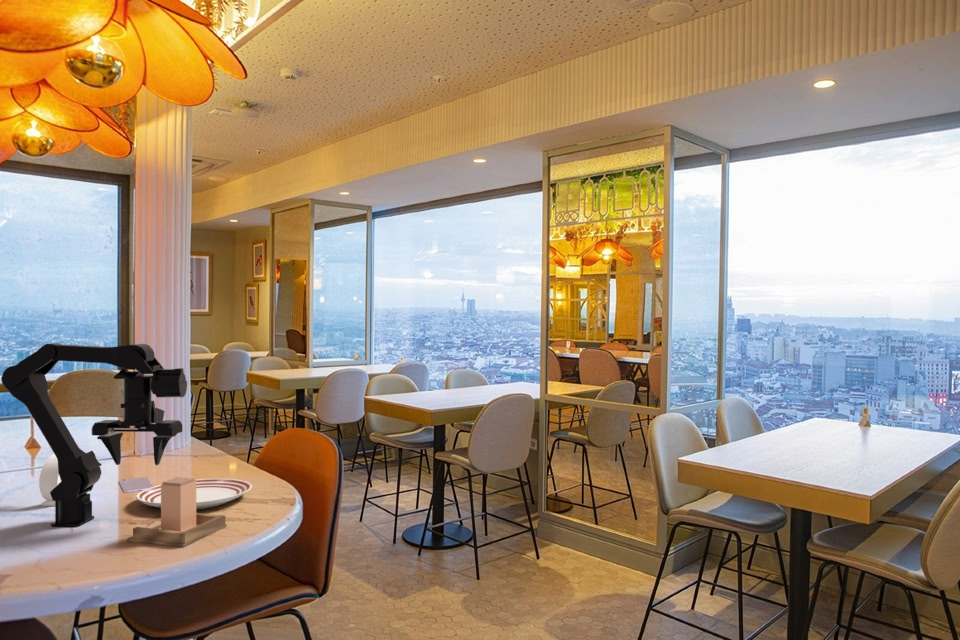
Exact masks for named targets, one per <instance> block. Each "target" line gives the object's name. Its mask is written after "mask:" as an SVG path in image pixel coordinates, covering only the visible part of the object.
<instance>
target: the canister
mask: <svg viewBox="0 0 960 640" xmlns="http://www.w3.org/2000/svg"><path fill="white" fill-rule="evenodd" d="M195 480H196V478H194V477H181V476H180V477H179V476H177V477H174V478H171V479H168V480H165V481H162V484H160V485H161V508H160V525H161V529H162V530H172V531H182V532H185V531H187V530H189V529H191V528H193V527H196V513H197V510H196V481H195Z"/></svg>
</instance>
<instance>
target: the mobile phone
mask: <svg viewBox="0 0 960 640" xmlns="http://www.w3.org/2000/svg"><path fill="white" fill-rule="evenodd" d="M118 483H119V485H120V487H121V489H122V492H123V493H126V494H128V493H135V492H141V491H143V490H145V489H148V488H151V487H154V486H155V485H153V483H152V482H151V480H150V479H149V477H148V476H143V477H133V478H125V479H124V478H122V479H121V480H119V482H118Z"/></svg>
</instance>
